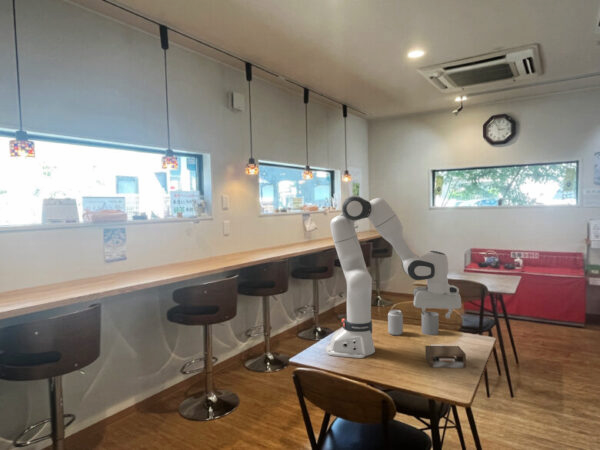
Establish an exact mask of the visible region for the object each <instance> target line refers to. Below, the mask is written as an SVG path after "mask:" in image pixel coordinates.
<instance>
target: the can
mask: <svg viewBox="0 0 600 450" xmlns="http://www.w3.org/2000/svg"><path fill="white" fill-rule="evenodd" d="M388 311H389V312H388V313H387V331H388V334H390V335H391V336H394V337H395V336H401V335H402V334H403V333H404V314H403V313H402V311H401V310H400V309H391V310H388Z"/></svg>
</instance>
